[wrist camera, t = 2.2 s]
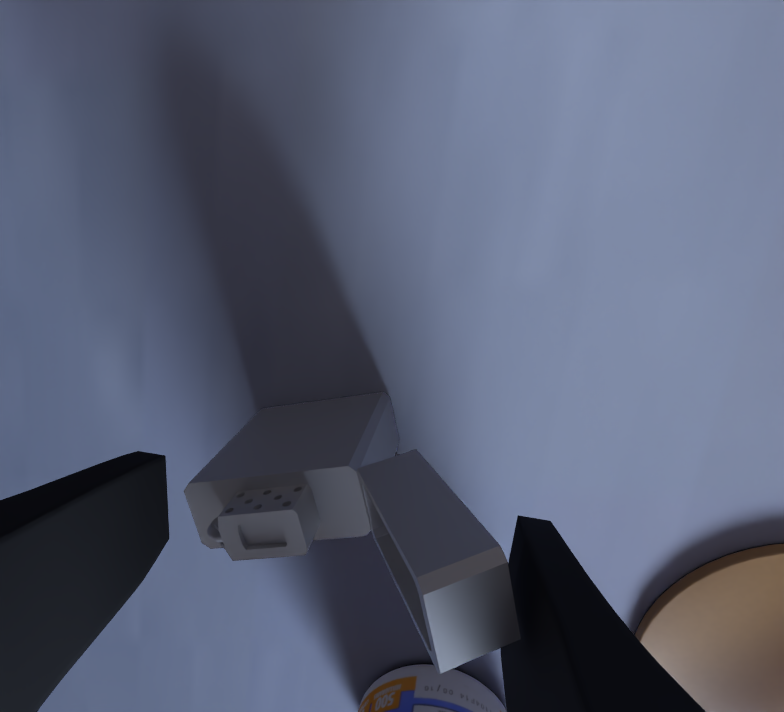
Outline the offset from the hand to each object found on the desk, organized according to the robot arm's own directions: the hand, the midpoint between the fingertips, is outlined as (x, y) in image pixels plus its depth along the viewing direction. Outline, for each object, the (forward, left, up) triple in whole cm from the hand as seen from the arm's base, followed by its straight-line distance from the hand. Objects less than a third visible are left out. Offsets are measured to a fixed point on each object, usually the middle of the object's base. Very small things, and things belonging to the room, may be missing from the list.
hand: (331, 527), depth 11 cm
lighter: (0, 0, -5) cm, 5 cm away
